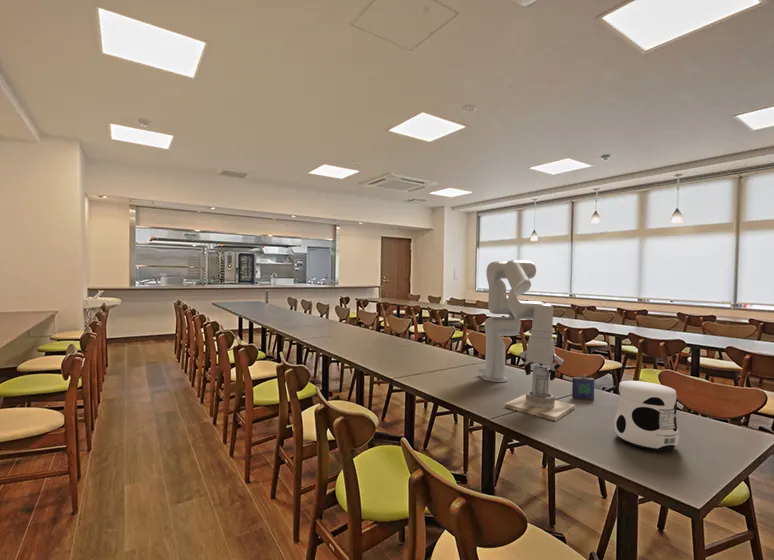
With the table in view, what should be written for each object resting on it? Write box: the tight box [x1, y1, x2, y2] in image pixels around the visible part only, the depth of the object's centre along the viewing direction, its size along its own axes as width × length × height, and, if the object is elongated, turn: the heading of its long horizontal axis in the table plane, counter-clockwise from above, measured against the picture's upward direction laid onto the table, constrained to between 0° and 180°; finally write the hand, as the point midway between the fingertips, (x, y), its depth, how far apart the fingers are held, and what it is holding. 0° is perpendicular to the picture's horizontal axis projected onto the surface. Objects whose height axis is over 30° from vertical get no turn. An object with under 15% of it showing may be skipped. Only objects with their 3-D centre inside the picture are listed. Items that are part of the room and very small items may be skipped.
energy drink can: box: [531, 364, 550, 398], centre depth 156 cm, size 6×6×15 cm
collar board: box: [504, 390, 576, 422], centre depth 156 cm, size 20×20×6 cm
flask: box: [571, 373, 595, 400], centre depth 170 cm, size 9×3×11 cm, turn 87°
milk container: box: [613, 380, 680, 452], centre depth 125 cm, size 17×17×18 cm
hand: (539, 377), depth 157 cm, fingers open, 9 cm apart
